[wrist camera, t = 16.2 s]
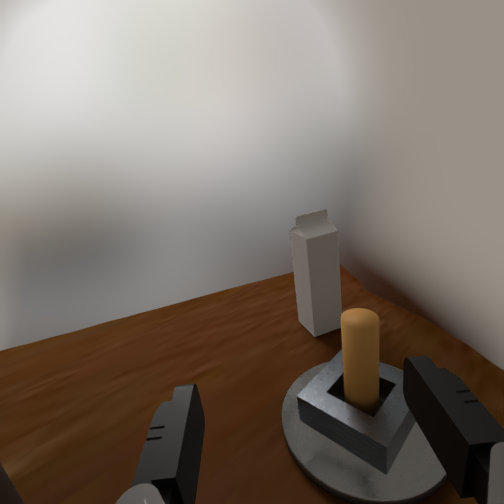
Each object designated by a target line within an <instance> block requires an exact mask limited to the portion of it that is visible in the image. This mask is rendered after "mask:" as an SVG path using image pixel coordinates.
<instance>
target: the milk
mask: <svg viewBox="0 0 504 504" xmlns="http://www.w3.org/2000/svg"><path fill="white" fill-rule="evenodd" d="M290 240H291V250H292V259H293V269H294V279H295V288H296V298H297V307H298V317H299V322H300V323H301V324H302V325H303V326H304V327H305V328H306V329H307V330H308V331H309V332H310V333H311V334H312V335H313V336H314V337H317V336H320V335H322V334H325V333H328V332H330V331H333V330H336V329H338V328H341V315H342V307H341V287H340V266H339V246H338V231H337V229H336V228H335V226H334V225H333V224H332V223H331V221H330V220H329V219H328V217H327V210H326V209H323V210H319V211H315V212H311V213H307V214H303V215H299V216H297V217H296V226H295V227H293V228H292V229H291V230H290Z"/></svg>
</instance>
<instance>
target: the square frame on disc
mask: <svg viewBox="0 0 504 504" xmlns="http://www.w3.org/2000/svg"><path fill="white" fill-rule="evenodd" d="M282 424H283V431H284V436H285V441H286V443H287V446H288V449H289V451H290V453H291V455H292V457H293V459H294V460H295V462H296V463H297V465H298V466H299V468H300V469H301V470H302V471H303V472H304V473H305V474H306V475H307V477H308V478H310V479H311V480H312V481H313V482H314V483H315V484H316V485H318V486H319V487H321V488H322V489H324V490H325V491H327V492H328V493H330V494H332V495H334V496H336V497H337V498H339V499H342V500H344V501H347V502H350V503H352V504H416V503H419V502H421V501H423V500H425V499H427V498H428V497H430V496H432V495H433V494H434V493H435V492H436V491H438V490H439V489H440V488H441V487H442V485H443V484H444V483H445V482H446V480H447V478H448V475H447V474H446V472H445V470H444V468H443V467H442V465H441V463H440V461H439V460H438V458H437V456H436V455H435V453H434V451H433V449H432V448H431V446H430V444H429V442H428V441H427V439H426V437H425V436H424V434H423V432H422V430H421V429H420V427H419V425H418V424H417V422H416V420H415V418H414V417H413V415H412V413H411V411H410V410H409V408H408V406H407V404H406V402H405V399H404V395H403V371H402V370H400V369H398V368H396V367H393V366H390V365H388V364H384V363H381V362H379V411H378V412H377V414H376V415H375V417H372V416H370V415H368V414H366V413H364V412H362V411H360V410H358V409H357V408H355V407H353V406H351V405H349V404H347V403H345V394H344V374H343V355H342V349H341V350H340V351H339V352H338V353H337V354H336V355H335V356H334V357H333V359H332V360H331V361H330V362H326V363H323V364H320V365H317V366H315V367H313V368H311V369H309V370H308V371H306V372H305V373H303V374H302V375H301V376H300V377H299V378H298V379H297V380H296V381H295V382H294V383H293V384H292V386H291V387H290V389H289V390H288V392H287V394H286V397H285V399H284V403H283V408H282Z"/></svg>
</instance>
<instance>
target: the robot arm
mask: <svg viewBox="0 0 504 504" xmlns="http://www.w3.org/2000/svg"><path fill="white" fill-rule="evenodd" d="M403 395H404V399H405V402H406V404H407V406H408V408H409V410H410V411H411V413H412V415H413V417H414V418H415V420H416V422H417V424H418V425H419V427H420V429H421V430H422V432H423V434H424V436H425V437H426V439H427V441H428V442H429V444H430V446H431V448H432V449H433V451H434V453H435V455H436V456H437V458H438V460H439V461H440V463H441V465H442V467H443V468H444V470H445V472H446V474H447V475H448V477H449V479H450V480H451V482H452V484H453V486H454V487H455V489H456V491H457V493H458V494H459V496H460V498H469V497H474V498H475V500H476V501H477V503H478V504H504V429H503V428H502V427H501V426H500V425H499V424H498V422H497V421H496V420H495V419H494V418H493V417H492V415H491V414H490V413H489V412H488V411H487V409H486V408H485V407H484V406H483V405H482V404H481V402H479V401H478V399H477V398H476V397H475V395H474V394H473V393H472V392H470V389H469V388H468V387H467V386H466V385H465V384H464V382H463V381H462V380H461V379H460V378H459V377H458V376H456V375H455V374H453V373H452V372H450V371H449V370H447V369H446V368H442V369H438V368H437V367H436V366H435V365H434V363H433V362H432V361H431V359H430V358H429V357H428V356H418V357H410V358H405V360H404V371H403ZM204 430H205V418H204V412H203V408H202V404H201V400H200V396H199V392H198V388H197V385H196V384H188V385H180V386H176V387H175V390H174V393H173V397H172V401H168V402H163V403H162V404H161V405H160V407H159V408H158V409H157V411H156V412H155V413H154V415H153V419H152V422H151V425H150V430H149V432H148V435H147V438H146V439H147V440H146V441H145V444H144V448H143V451H142V454H141V457H140V460H139V464H138V467H137V470H136V473H135V476H134V480H133V483H132V485H131V488H130V489H129V490H127V491H126V492H125V493H124V494H123V495H122V496H121V497H120V498H119V500H118V501H117V503H116V504H195V499H196V492H197V484H198V476H199V469H200V461H201V453H202V446H203V438H204ZM0 504H25V503H24V501H23V500H22V498H21V497H20V495H19V493H18V491H17V490H16V488H15V486H14V485H13V483H12V481H11V480H10V478H9V476H8V475H7V473H6V472H5V470H4V468H3V467H2V465H1V463H0Z"/></svg>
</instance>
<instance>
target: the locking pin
mask: <svg viewBox="0 0 504 504" xmlns="http://www.w3.org/2000/svg"><path fill="white" fill-rule="evenodd" d="M341 335H342V355H343V374H344V394H345V403H347V404H349V405H351V406H353V407H355V408H357V409H358V410H360V411H362V412H364V413H366V414H368V415H370V416H372V417H375V415H376V414H377V412H378V411H379V317H378V315H377V314H376V313H374V312H373V311H371V310H368V309H362V308H354V309H349V310H347V311H345V312H343V313H342V315H341Z"/></svg>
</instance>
